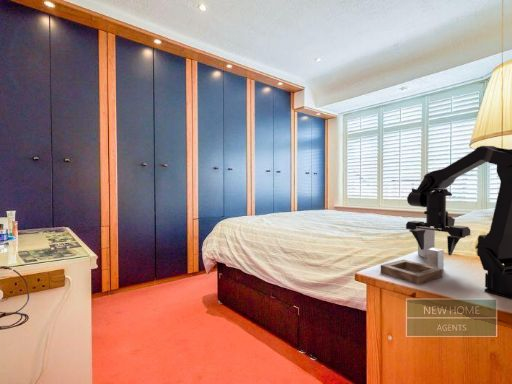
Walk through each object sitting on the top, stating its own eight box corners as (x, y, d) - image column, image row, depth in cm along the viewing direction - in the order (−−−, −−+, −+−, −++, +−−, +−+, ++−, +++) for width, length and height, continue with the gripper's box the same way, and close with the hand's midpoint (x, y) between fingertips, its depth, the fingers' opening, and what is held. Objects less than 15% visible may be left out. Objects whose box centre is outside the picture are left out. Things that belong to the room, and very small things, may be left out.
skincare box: (434, 258, 109) (435, 228, 109) (423, 257, 110) (423, 228, 110) (428, 254, 115) (428, 226, 115) (417, 253, 116) (417, 226, 116)
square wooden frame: (441, 276, 88) (442, 269, 88) (418, 284, 82) (418, 276, 82) (403, 266, 100) (403, 259, 100) (380, 272, 94) (380, 265, 94)
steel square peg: (443, 269, 96) (443, 249, 95) (437, 271, 94) (437, 251, 94) (432, 266, 99) (432, 247, 99) (427, 268, 97) (427, 249, 97)
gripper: (478, 209, 91) (478, 255, 92) (422, 205, 108) (422, 244, 108) (461, 211, 86) (461, 260, 86) (405, 207, 102) (404, 248, 103)
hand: (435, 252), depth 96 cm, fingers open, 9 cm apart
